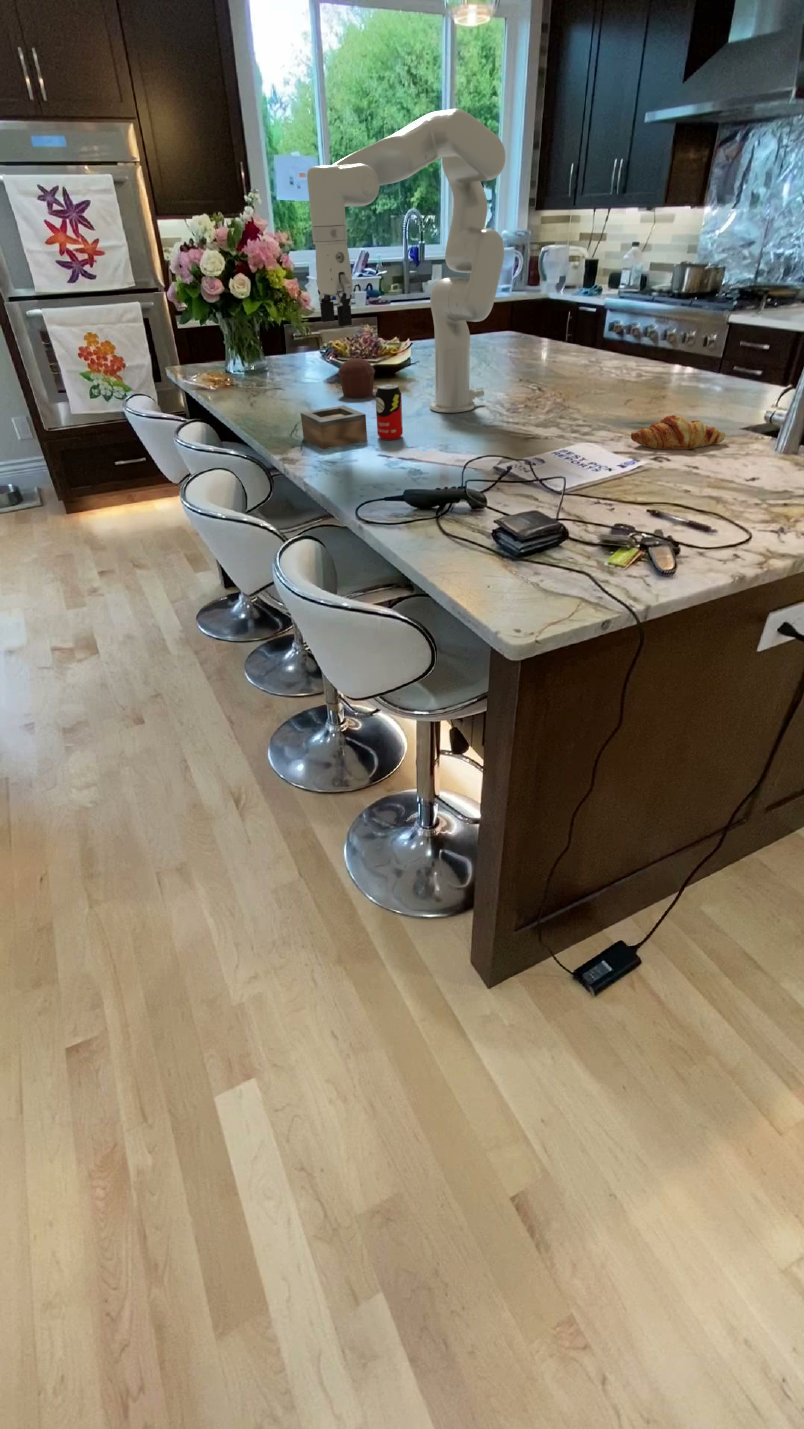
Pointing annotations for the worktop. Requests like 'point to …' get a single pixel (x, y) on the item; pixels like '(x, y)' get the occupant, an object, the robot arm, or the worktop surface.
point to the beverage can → (389, 411)
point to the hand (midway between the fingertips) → (336, 323)
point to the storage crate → (334, 426)
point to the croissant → (677, 434)
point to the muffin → (356, 378)
